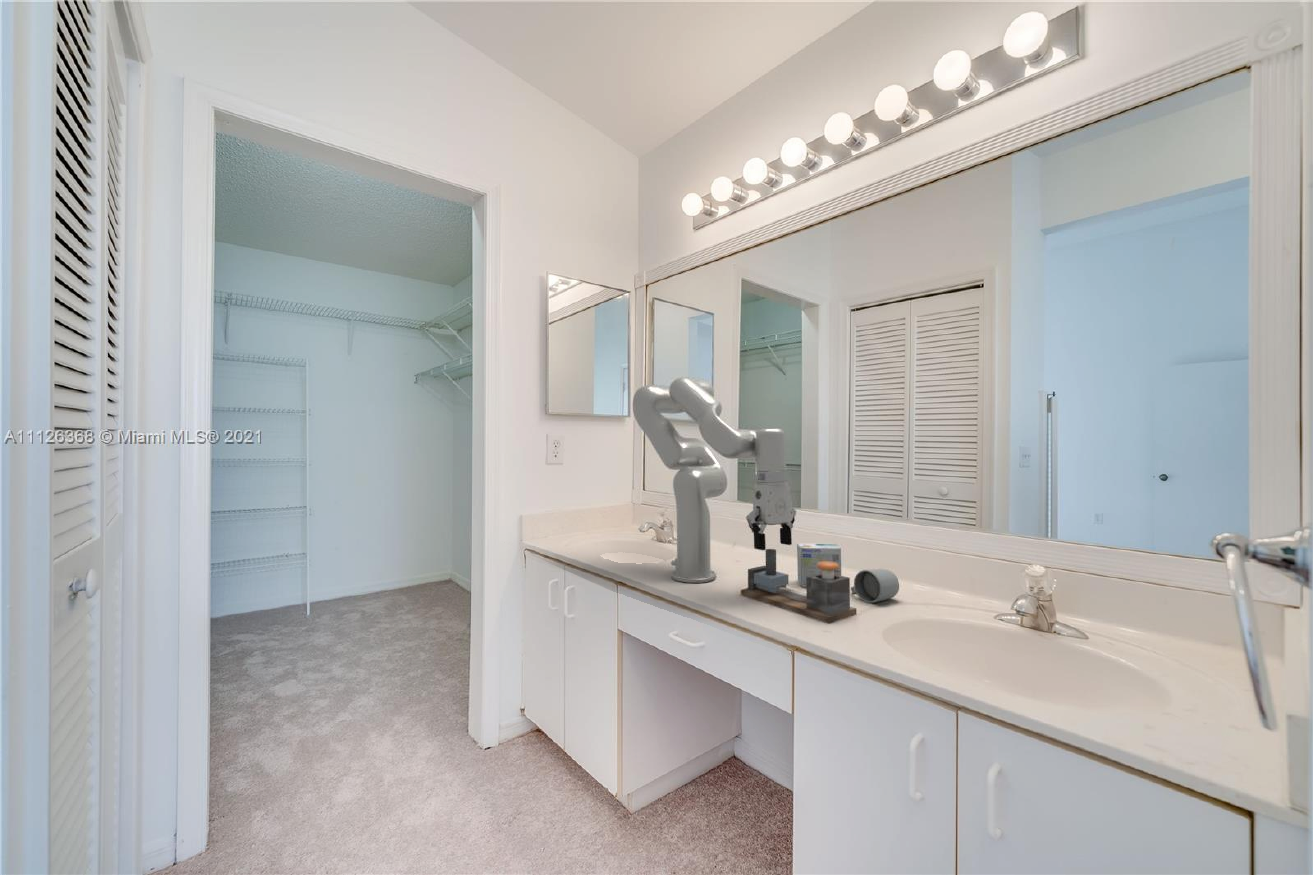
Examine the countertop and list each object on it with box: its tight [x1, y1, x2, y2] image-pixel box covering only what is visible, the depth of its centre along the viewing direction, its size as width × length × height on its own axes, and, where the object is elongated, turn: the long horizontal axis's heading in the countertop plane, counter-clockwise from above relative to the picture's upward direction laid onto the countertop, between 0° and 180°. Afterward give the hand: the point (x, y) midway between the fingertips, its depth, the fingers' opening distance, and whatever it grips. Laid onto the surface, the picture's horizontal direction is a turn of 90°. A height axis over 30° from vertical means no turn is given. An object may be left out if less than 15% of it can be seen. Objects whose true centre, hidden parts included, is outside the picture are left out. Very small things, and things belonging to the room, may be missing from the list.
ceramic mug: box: [850, 568, 900, 604], centre depth 125 cm, size 11×8×8 cm
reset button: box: [817, 561, 838, 580], centre depth 114 cm, size 4×4×5 cm
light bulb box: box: [796, 542, 842, 588], centre depth 137 cm, size 11×7×11 cm, turn 84°
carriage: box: [754, 548, 789, 593], centre depth 127 cm, size 6×6×10 cm
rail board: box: [740, 565, 857, 624], centre depth 121 cm, size 26×10×8 cm, turn 36°
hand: (773, 546), depth 127 cm, fingers open, 9 cm apart
